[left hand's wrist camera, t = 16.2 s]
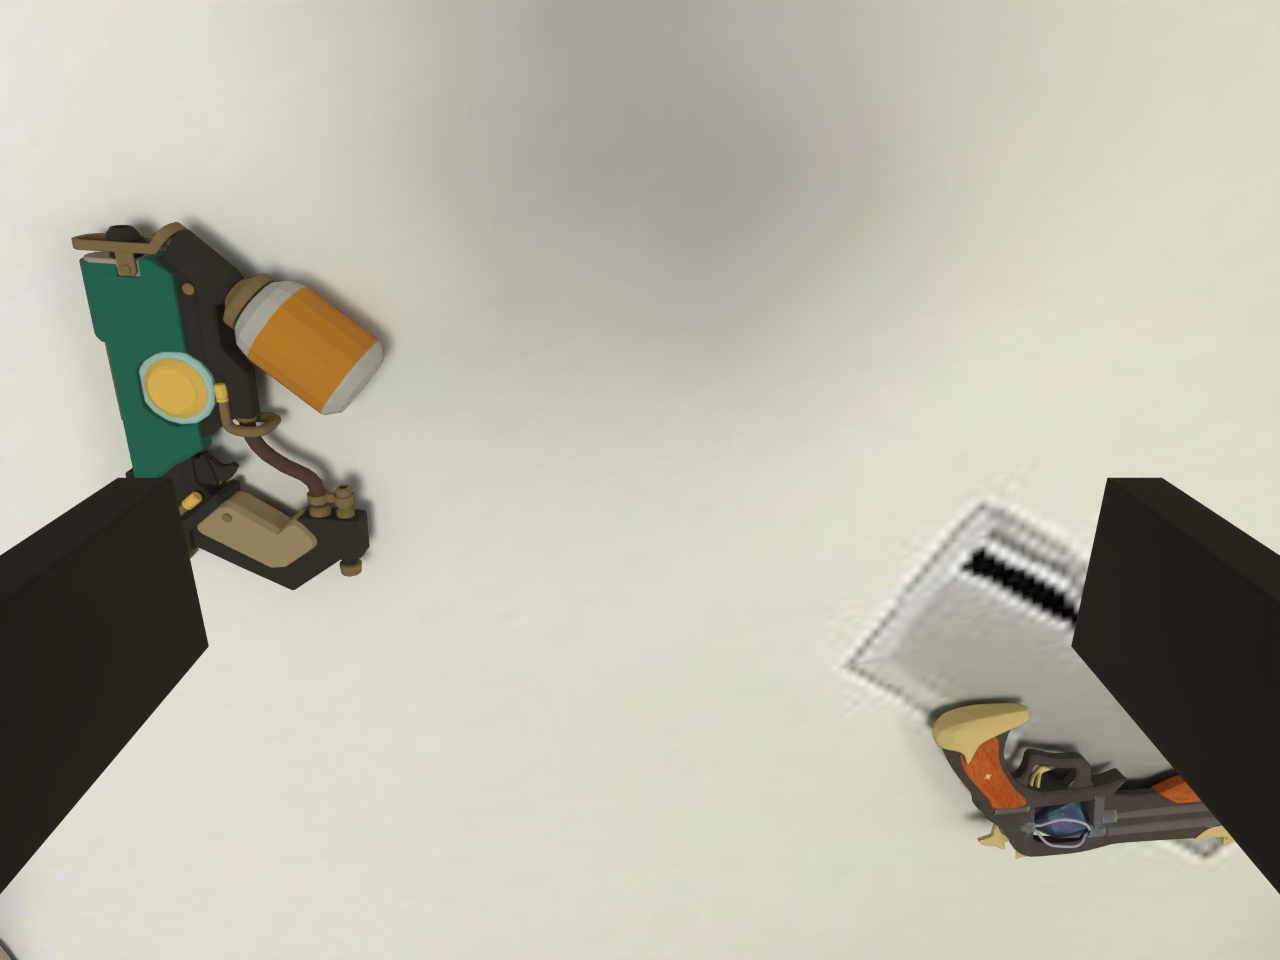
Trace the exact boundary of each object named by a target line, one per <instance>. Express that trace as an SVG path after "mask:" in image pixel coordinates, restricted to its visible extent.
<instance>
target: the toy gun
mask: <svg viewBox="0 0 1280 960" xmlns="http://www.w3.org/2000/svg"><path fill="white" fill-rule="evenodd" d="M1029 715H1030V710H1029V707H1028V706H1024V705H1021V704H1016V703H997V704H977V705H970V706H964V707H960V708H956V709H953V710H950V711H948V712H945V713H944V714H942V715H941V716H940V717H939V718H938V719H937V721H936V722H935V724H934V727H933V738H934V740H935V742H936V743H937V744H938V745H939V746H940V747H941V748H943V751H944V753H945V756H946V758H947V760H948V762H949V763H950V765H951V767H952V769H953V770H954V771H955V773H956V774H957V776H958V777H959V778H960V780H961V781H962V782H963V783H964V785H965V786H966V787H967V788H968V790H969V791H970V792H971V795H972V801H973V803H974V804H975V805H976V807H977V808H978V809H979V810H981V811H982V812H983V813H984V815H985V816H986V817H987V818H988V819H989V820H990V821H991V822H993V823H994V824H993V827H992V831H991V833H990V834H989V835H986V836H982V837H979V838H977V839H978V841H979V842H980V843H981V844H982V845H986V846H997V847H999V848H1001V849H1005V845H1004V844H1005V842H1007V841H1009V842H1010V844H1011V845H1012V846H1013V848H1014V849H1015V850H1016V858H1021V857H1025V856H1030V857H1033V856H1048V855H1059V854H1069V853H1076V852H1082V851H1087V850H1091V849H1095V848H1099V847H1103V846H1106V845H1110V844H1115V843H1125V842H1138V841H1153V840H1168V839H1185V838H1194V839H1200V838H1213V837H1215V838H1217V839H1219V838H1222V844H1223V845H1225V844H1229V843H1233V842H1235V840H1234V839H1233V838H1232V837H1231V836H1230V834H1229V833H1228V832H1227V831H1226V830H1225V828H1224V827H1223V826H1222V825H1221V824H1220V823H1219V821H1218V820H1217V819H1216V818H1215V817H1214V815H1213V814H1212V813H1211V812H1210V811H1209V809H1208V808H1207V807H1206V806H1205V805H1204V803H1203V802H1202V801H1201V800H1200V799H1199V798H1198V796H1197V795H1196V794H1195V793H1194V792H1193V790H1192V789H1191V788H1190V787H1189V786H1188V784H1187V783H1186V782H1185V781H1184V780H1183V779H1182V777H1181V776H1180V775H1177V776H1174V777H1171V778H1169V779H1167V780H1165V781H1162V782H1160V783H1158V784H1155V785H1153V786H1152V787H1151V788H1147V789H1134V790H1118V789H1119V788H1120V787H1121V785H1122V784H1123V783H1124V782H1125V781H1126V778H1125V777H1124V776H1123V775H1122V774H1121V773H1120V772H1119V771H1118V770H1117V769H1116V768H1114V769H1111V770H1109V771H1106V772H1104V773H1101V774H1098V775H1093V776H1091V767H1090V765H1089V763H1088V762H1087V760H1086V759H1085V758H1084V757H1083V756H1082V755H1081V754H1079V753H1077V752H1071V753H1050V752H1044V751H1039V750H1035V749H1026V750H1025V752H1024V756H1023V760H1022V762H1021V765H1020V767H1019V768H1018V769H1017V771H1015V772H1013V773H1010V771H1009V770H1008V767H1007V765H1006V762H1005V760H1004V747H1005V742H1006V739H1007V736H1008V733H1009V732H1010V730H1011V729H1013V728H1015V727H1017V726H1019V725H1021V724H1023V723H1025V722H1026V721H1027V720H1028V719H1029ZM1035 765H1039V766H1038V767H1037V768H1036V769H1035V771H1034V772H1033V773H1032V775H1031V778H1030V780H1029V775H1030V773H1031V771H1032V769H1033V768H1034V767H1035ZM1048 766H1051V767H1057V768H1070V772H1069V773H1068V775H1067V776H1066V777H1065V778H1064V779H1063V780H1052V781H1040V780H1041V775H1042V773H1043V772H1045V771H1049V770H1051V769H1050V768H1049V767H1048ZM1036 775H1037V776H1036ZM1035 776H1036V781H1035V782H1034V779H1035ZM1028 781H1029V782H1028ZM1037 807H1043V808H1042V809H1041V810H1040V811H1039V812H1038V813H1037V814H1036V815H1035V808H1037ZM1036 829H1037V830H1039V831H1041V832H1043V833H1045V834H1047V835H1050V836H1041V834H1040V833H1039V832H1038V831H1037V830H1036ZM1033 832H1036V833H1037V835H1033Z"/></svg>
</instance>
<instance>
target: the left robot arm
mask: <svg viewBox="0 0 1280 960" xmlns="http://www.w3.org/2000/svg"><path fill="white" fill-rule="evenodd" d="M208 646H209V645H208V641H207V636H206V631H205V627H204V622H203V617H202V613H201V608H200V603H199V599H198V594H197V589H196V585H195V580H194V575H193V571H192V566H191V561H190V557H189V552H188V547H187V543H186V538H185V533H184V529H183V524H182V519H181V515H180V510H179V505H178V501H177V496H176V491H175V487H174V482H173V478H117V479H115V480H114V481H112V482H111V483H109V484H108V485H106V486H105V487H103V488H102V489H100V490H99V491H97V492H96V493H94V494H93V495H91V496H90V497H88V498H87V499H85V500H84V501H82V502H81V503H79V504H78V505H76V506H75V507H73V508H72V509H70V510H68V511H67V512H65V513H64V514H62V515H61V516H59V517H58V518H56V519H55V520H53V521H52V522H50V523H49V524H47V525H46V526H44V527H43V528H41V529H40V530H38V531H37V532H35V533H34V534H32V535H31V536H29V537H28V538H26V539H25V540H23V541H22V542H20V543H18V544H17V545H15V546H14V547H12V548H11V549H9V550H8V551H6V552H5V553H3V554H2V555H0V894H1V893H2V891H3V890H4V889H5V888H6V887H7V886H8V884H9V883H10V882H11V881H12V880H13V878H14V877H15V876H16V875H17V874H18V872H19V871H20V870H21V869H22V868H23V867H24V865H25V864H26V863H27V862H28V861H29V859H30V858H31V857H32V856H33V855H34V853H35V852H36V851H37V850H38V849H39V847H40V846H41V845H42V844H43V843H44V842H45V840H46V839H47V838H48V837H49V836H50V834H51V833H52V832H53V831H54V830H55V828H56V827H57V826H58V825H59V824H60V823H61V821H62V820H63V819H64V818H65V817H66V815H67V814H68V813H69V812H70V811H71V809H72V808H73V807H74V806H75V805H76V803H77V802H78V801H79V800H80V799H81V798H82V796H83V795H84V794H85V793H86V792H87V790H88V789H89V788H90V787H91V786H92V784H93V783H94V782H95V781H96V780H97V779H98V777H99V776H100V775H101V774H102V773H103V771H104V770H105V769H106V768H107V767H108V765H109V764H110V763H111V762H112V761H113V759H114V758H115V757H116V756H117V755H118V754H119V752H120V751H121V750H122V749H123V748H124V746H125V745H126V744H127V743H128V742H129V740H130V739H131V738H132V737H133V736H134V735H135V733H136V732H137V731H138V730H139V729H140V727H141V726H142V725H143V724H144V723H145V721H146V720H147V719H148V718H149V717H150V715H151V714H152V713H153V712H154V711H155V710H156V708H157V707H158V706H159V705H160V704H161V702H162V701H163V700H164V699H165V698H166V696H167V695H168V694H169V693H170V692H171V690H172V689H173V688H174V687H175V686H176V685H177V683H178V682H179V681H180V680H181V679H182V677H183V676H184V675H185V674H186V673H187V671H188V670H189V669H190V668H191V667H192V666H193V664H194V663H195V662H196V661H197V660H198V658H199V657H200V656H201V655H202V654H203V652H204V651H205V650H206V649H207V648H208ZM1071 646H1072V648H1073V649H1074V650H1075V651H1076V652H1077V654H1078V655H1079V656H1080V657H1081V658H1082V660H1083V661H1084V662H1085V663H1086V664H1087V666H1088V667H1089V668H1090V669H1091V670H1092V671H1093V673H1094V674H1095V675H1096V676H1097V677H1098V679H1099V680H1100V681H1101V682H1102V683H1103V685H1104V686H1105V687H1106V688H1107V689H1108V690H1109V692H1110V693H1111V694H1112V695H1113V696H1114V698H1115V699H1116V700H1117V701H1118V702H1119V704H1120V705H1121V706H1122V707H1123V708H1124V710H1125V711H1126V712H1127V713H1128V714H1129V715H1130V717H1131V718H1132V719H1133V720H1134V721H1135V723H1136V724H1137V725H1138V726H1139V727H1140V729H1141V730H1142V731H1143V732H1144V733H1145V735H1146V736H1147V737H1148V738H1149V739H1150V740H1151V742H1152V743H1153V744H1154V745H1155V746H1156V748H1157V749H1158V750H1159V751H1160V752H1161V754H1162V755H1163V756H1164V757H1165V758H1166V759H1167V761H1168V762H1169V763H1170V764H1171V765H1172V767H1173V768H1174V769H1175V770H1176V771H1177V773H1178V774H1179V775H1180V776H1181V777H1182V779H1183V780H1184V781H1185V782H1186V783H1187V784H1188V786H1189V787H1190V788H1191V789H1192V790H1193V792H1194V793H1195V794H1196V795H1197V796H1198V798H1199V799H1200V800H1201V801H1202V802H1203V803H1204V805H1205V806H1206V807H1207V808H1208V809H1209V811H1210V812H1211V813H1212V814H1213V815H1214V817H1215V818H1216V819H1217V820H1218V821H1219V823H1220V824H1221V825H1222V826H1223V827H1224V828H1225V830H1226V831H1227V832H1228V833H1229V834H1230V836H1231V837H1232V838H1233V839H1234V840H1235V842H1236V843H1237V844H1238V845H1239V846H1240V847H1241V849H1242V850H1243V851H1244V852H1245V853H1246V855H1247V856H1248V857H1249V858H1250V859H1251V861H1252V862H1253V863H1254V864H1255V865H1256V867H1257V868H1258V869H1259V870H1260V871H1261V872H1262V874H1263V875H1264V876H1265V877H1266V878H1267V880H1268V881H1269V882H1270V883H1271V884H1272V886H1273V887H1274V888H1275V889H1276V890H1277V891H1278V893H1279V894H1280V555H1278V554H1277V553H1275V552H1274V551H1272V550H1271V549H1269V548H1268V547H1266V546H1265V545H1263V544H1262V543H1260V542H1258V541H1257V540H1255V539H1254V538H1252V537H1251V536H1249V535H1248V534H1246V533H1245V532H1243V531H1242V530H1240V529H1239V528H1237V527H1236V526H1234V525H1233V524H1231V523H1230V522H1228V521H1227V520H1225V519H1224V518H1222V517H1221V516H1219V515H1218V514H1216V513H1215V512H1213V511H1212V510H1210V509H1208V508H1207V507H1205V506H1204V505H1202V504H1201V503H1199V502H1198V501H1196V500H1195V499H1193V498H1192V497H1190V496H1189V495H1187V494H1186V493H1184V492H1183V491H1181V490H1180V489H1178V488H1177V487H1175V486H1174V485H1172V484H1171V483H1169V482H1168V481H1166V480H1165V479H1163V478H1107V482H1106V487H1105V491H1104V496H1103V501H1102V505H1101V510H1100V515H1099V519H1098V524H1097V529H1096V533H1095V538H1094V543H1093V547H1092V552H1091V557H1090V561H1089V566H1088V571H1087V575H1086V580H1085V585H1084V589H1083V594H1082V599H1081V603H1080V608H1079V613H1078V617H1077V622H1076V627H1075V631H1074V636H1073V641H1072V645H1071Z"/></svg>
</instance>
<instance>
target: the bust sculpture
mask: <svg viewBox="0 0 1280 960" xmlns="http://www.w3.org/2000/svg"><path fill="white" fill-rule="evenodd" d="M0 960H11V958H10V957H9V956H8V954H7V953H6V952H5V951H4V949H3V948H2V947H1V946H0Z"/></svg>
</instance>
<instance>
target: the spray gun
mask: <svg viewBox="0 0 1280 960" xmlns="http://www.w3.org/2000/svg"><path fill="white" fill-rule="evenodd" d="M71 239H72V244H73V248H74V249H77V250H91V251H107V252H94V253H89V254H86V255H84V257H83V258H81V259H80V266H81V271H82V275H83V280H84V285H85V290H86V294H87V299H88V304H89V309H90V313H91V318H92V323H93V327H94V332H95V334H96V336H97V337H98V338H99V339H100V340H101V341H102V342H105V345H106V350H107V355H108V359H109V364H110V368H111V373H112V378H113V382H114V387H115V392H116V396H117V401H118V405H119V410H120V415H121V419H122V420H123V424H124V428H125V433H126V438H127V442H128V447H129V452H130V456H131V461H132V466H133V468H132V469H130V470H129V471H128V472H126V478H173V482H174V487H175V491H176V496H177V501H178V505H179V510H180V515H181V519H182V524H183V529H184V533H185V538H186V543H187V547H188V552H189V557H190V558H192V556H193V555H194V554H195V553H196V552H197V551H198V549H199V548H201V549H203V550H206V551H208V552H210V553H212V554H214V555H216V556H218V557H220V558H223V559H225V560H227V561H229V562H231V563H233V564H235V565H237V566H240V567H242V568H244V569H246V570H249V571H251V572H253V573H255V574H257V575H260V576H262V577H264V578H266V579H269V580H271V581H273V582H275V583H278V584H280V585H282V586H284V587H286V588H289V589H291V590H295V589H297V588H298V587H300V586H301V585H303V584H304V583H306V582H307V581H309V580H310V579H312V578H313V577H315V576H316V575H318V574H319V573H321V572H322V571H324V570H326V569H327V568H329V567H330V566H332V565H333V564H335V563H336V562H338V561H339V560H342V561H341V562H340V569H341V573H342V574H343V575H344V576H355V575H358V574H359V573H360V572H361V570H362V561H361V560H360V559H358V558H361V557H362V556H363V554H364V553H365V552H366V550H367V549H368V547H369V535H368V524H367V513H366V511H365V510H355V509H354V508H353V507H352V505H353V503H354V502H355V501H354V493H353V492H352V490H351V487H350V486H348V485H340V486H338V487H337V488H336V489H335V493H331V492H328V490H327V489H325V487H324V485H323V483H322V481H321V479H320V478H319V477H318V476H317V475H316V474H315V473H314V472H313V471H311V470H310V469H308V468H306V467H304V466H302V465H300V464H297V463H295V462H293V461H291V460H289V459H287V458H286V457H284V456H282V455H281V454H279V453H277V452H276V451H275V450H274V449H272V448H271V447H270V446H269V445H268V444H267V443H266V442H265V441H264V440H263V439H262V437H261V436H264V435H266V434H267V433H269V432H271V431H272V430H274V429H275V428H276V427H277V426H278V425H279V423H280V422H281V418H280V416H279V415H277V414H274V413H266V412H260V408H259V401H258V393H257V386H256V379H255V372H254V368H253V367H252V366H251V364H250V363H249V362H248V361H247V360H246V359H245V357H244V356H243V355H242V354H241V353H240V352H239V350H238V349H237V348H236V347H235V346H234V345H233V343H232V342H231V340H230V335H229V330H228V326H229V327H231V328H232V329H235V336H236V344H237V345H238V347H239V348H240V349H241V351H242V352H243V353H244V354H245V355H246V357H247V358H248V359H249V360H250V361H251V362H253V363H254V364H255V365H257V366H258V367H259V368H261V369H262V370H263V371H265V372H266V373H267V374H269V375H270V376H271V377H273V378H274V379H275V380H277V381H278V382H279V383H281V384H282V385H283V386H285V387H286V388H287V389H289V390H290V391H291V392H293V393H294V394H295V395H297V396H298V397H299V398H301V399H302V400H303V401H305V402H306V403H307V404H309V405H310V406H311V407H313V408H314V409H315V410H317V411H318V412H319V413H320V414H323V415H328V414H334V413H340V412H343V411H344V410H345V409H346V408H347V407H348V405H349V404H350V403H351V402H352V401H353V400H354V399H355V398H356V396H357V395H358V394H359V393H360V391H361V390H362V389H363V388H364V387H365V385H366V384H367V383H368V381H369V380H370V379H371V378H372V376H373V375H374V373H375V372H376V371H377V369H378V368H379V366H380V365H381V363H382V361H383V351H382V345H381V343H380V341H379V340H377V339H376V338H375V337H373V336H372V335H371V334H369V333H368V332H367V331H365V330H364V329H363V328H361V327H360V326H359V325H357V324H356V323H355V322H353V321H352V320H351V319H349V318H348V317H347V316H345V315H344V314H343V313H341V312H340V311H339V310H337V309H336V308H335V307H333V306H332V305H331V304H329V303H328V302H327V301H325V300H324V299H323V298H321V297H320V296H318V295H317V294H316V293H314V292H313V291H312V290H310V289H309V288H308V287H306V286H304V285H301V284H299V283H297V282H294V281H292V280H291V281H281V282H273V280H272V279H271V278H270V277H268V276H267V275H266V274H258V275H256V276H253V277H251V278H249V279H244V278H243V276H242V275H241V274H240V273H239V271H238V270H237V269H236V268H235V267H233V266H232V265H231V264H230V263H229V262H227V261H226V260H225V259H224V258H222V257H221V256H220V255H219V254H218V253H216V252H215V251H214V250H213V249H212V248H210V247H209V246H208V245H207V244H206V243H204V242H203V241H202V240H201V239H200V238H198V237H197V236H196V235H195V234H194V233H192V232H191V231H190V230H187V228H185V227H184V226H183V225H181V224H180V223H178V222H174V223H171V224H168V225H166V226H164V227H163V228H161V229H160V230H159V231H158V232H157V233H156V235H155V236H140V233H139V232H138V231H137V230H136V229H135V228H133V227H132V226H129V225H115V226H111V227H109V229H108V231H107V232H106V233H94V234H84V235H80V236H76V237H73V238H71ZM161 247H168V249H167V251H166V252H164V251H162V252H158V250H159V249H160V248H161ZM157 252H158V253H157ZM224 303H225V309H224ZM234 418H236V420H237V421H238V422H239V424H240V425H235V424H234V423H233V421H232V420H233V419H234ZM255 422H265V423H264V424H262V425H260V426H256V423H255ZM222 426H223V427H224V428H225V429H226V430H227V432H229V433H231V434H234V435H237V436H242V437H244V438H245V440H246V442H247V443H248V445H249V446H250V448H251V449H252V450H253V451H254V452H255V453H256V454H257V455H258V456H259V457H260V458H261V459H262V460H263V461H265V462H267V463H268V464H270V465H271V466H273V467H274V468H276V469H278V470H279V471H281V472H283V473H285V474H287V475H289V476H292V477H294V478H296V479H298V480H300V481H302V482H303V483H304V484H306V485H307V486H308V488H309V490H310V491H309V492H308V493H307V497H308V503H309V504H311V505H312V506H310V507H308V508H307V509H302V510H300V511H299V512H298V513H297V514H296V515H295V516H293V517H292V518H291V517H289V516H288V515H286V514H284V513H282V512H281V511H279V510H277V509H275V508H274V507H272V506H270V505H268V504H267V503H265V502H263V501H261V500H260V499H258V498H256V497H254V496H253V495H251V494H249V493H247V492H243V491H237V490H238V489H239V488H240V482H239V481H237V480H231V481H230V482H229V483H228V484H226V485H225V486H224V487H223V488H219V487H218V486H219V485H221V484H222V482H223V481H226V480H228V479H229V478H231V477H232V476H233V475H234V474H235V472H236V471H237V469H238V467H239V465H238V464H237V463H235V462H233V463H231V464H223V463H221V462H220V461H218V460H217V459H216V458H215V457H213V456H212V454H211V453H210V452H209V451H206V452H204V453H203V454H202V455H201V454H200V451H202V450H203V449H204V448H206V447H207V446H208V445H210V444H211V442H212V440H211V433H213V432H215V431H216V430H218V429H219V428H221V427H222ZM327 503H335V505H336V506H337V507H338V508H331V506H330V505H329V504H327Z"/></svg>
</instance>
